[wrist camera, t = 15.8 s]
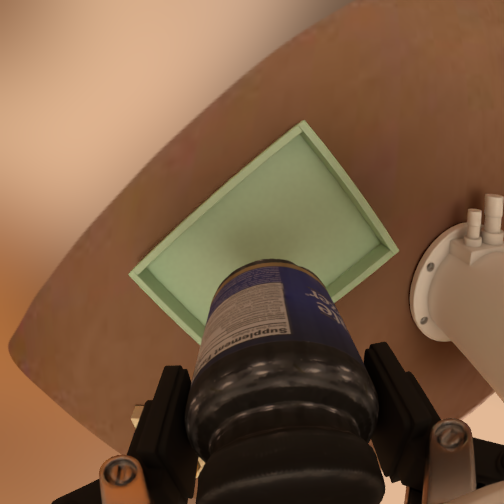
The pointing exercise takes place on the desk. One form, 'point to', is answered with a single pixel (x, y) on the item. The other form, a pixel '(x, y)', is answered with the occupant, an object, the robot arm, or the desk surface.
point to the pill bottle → (281, 396)
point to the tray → (268, 230)
